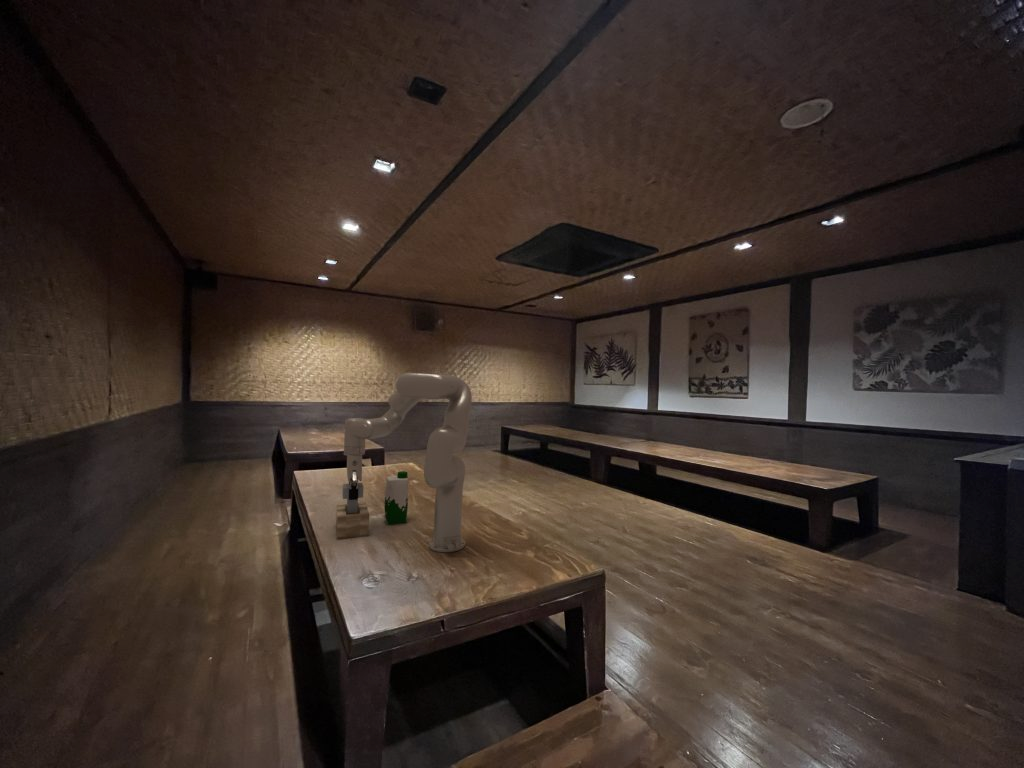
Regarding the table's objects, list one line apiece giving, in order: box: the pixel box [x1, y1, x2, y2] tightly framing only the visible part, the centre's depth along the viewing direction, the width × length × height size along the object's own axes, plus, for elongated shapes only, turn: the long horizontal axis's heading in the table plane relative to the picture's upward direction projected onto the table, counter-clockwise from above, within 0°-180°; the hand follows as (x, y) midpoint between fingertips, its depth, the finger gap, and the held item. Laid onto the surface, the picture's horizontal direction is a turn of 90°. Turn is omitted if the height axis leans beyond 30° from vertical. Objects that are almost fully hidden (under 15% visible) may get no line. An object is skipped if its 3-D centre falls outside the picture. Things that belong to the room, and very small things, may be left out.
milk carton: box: [384, 470, 409, 526], centre depth 163 cm, size 9×9×20 cm
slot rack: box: [335, 502, 370, 541], centre depth 151 cm, size 16×11×8 cm
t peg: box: [342, 482, 364, 513], centre depth 151 cm, size 7×7×10 cm
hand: (352, 496), depth 151 cm, fingers closed on t peg, 7 cm apart
